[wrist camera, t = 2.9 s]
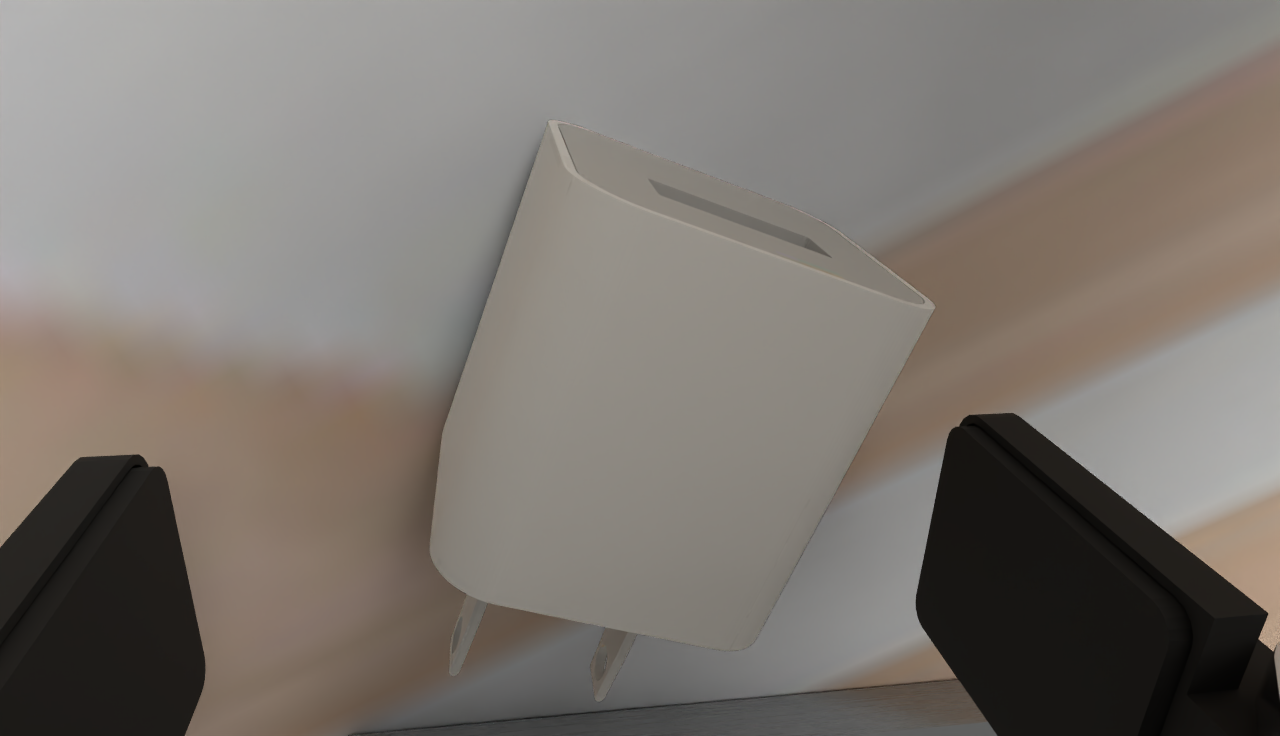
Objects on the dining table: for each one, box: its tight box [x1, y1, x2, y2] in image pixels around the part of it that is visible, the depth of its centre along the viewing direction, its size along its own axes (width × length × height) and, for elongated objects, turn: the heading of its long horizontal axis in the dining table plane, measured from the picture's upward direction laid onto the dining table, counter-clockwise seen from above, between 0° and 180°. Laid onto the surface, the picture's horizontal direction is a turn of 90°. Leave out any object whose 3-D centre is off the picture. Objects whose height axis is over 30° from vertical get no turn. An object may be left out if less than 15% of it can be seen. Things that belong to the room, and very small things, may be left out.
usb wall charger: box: [429, 120, 935, 702], centre depth 11 cm, size 4×7×4 cm, turn 158°
